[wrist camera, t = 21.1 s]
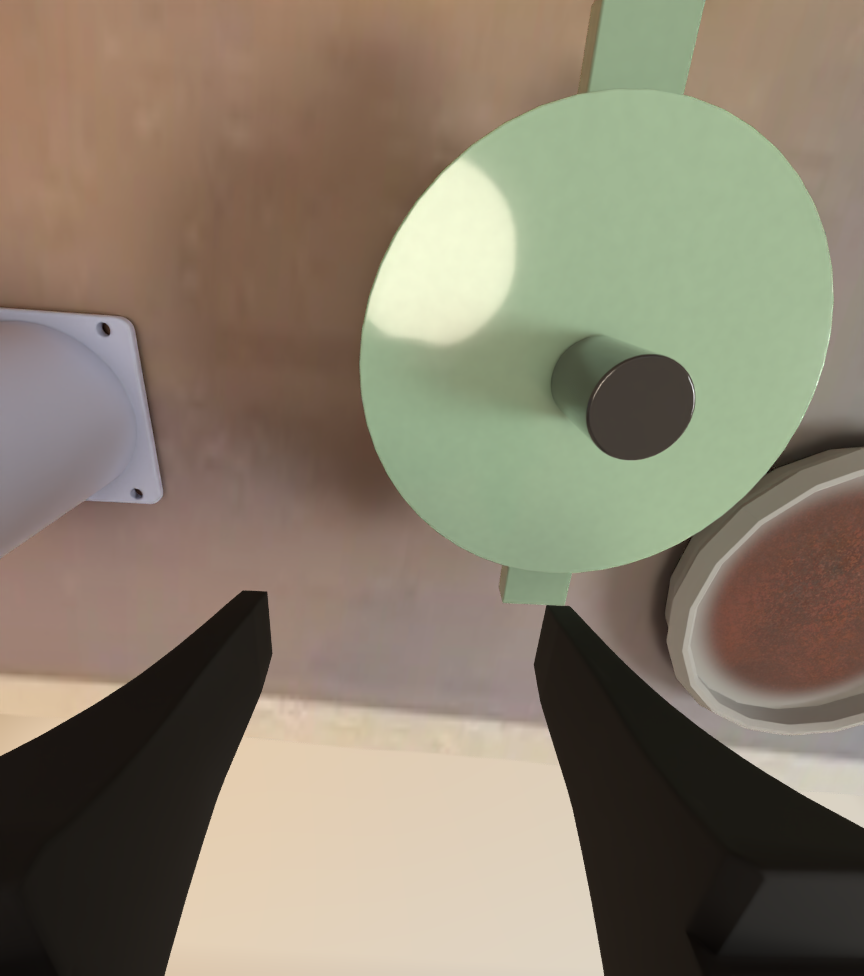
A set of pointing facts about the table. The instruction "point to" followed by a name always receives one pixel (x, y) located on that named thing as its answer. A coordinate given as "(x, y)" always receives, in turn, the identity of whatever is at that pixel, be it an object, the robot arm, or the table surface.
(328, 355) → the table surface
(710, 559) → the frying pan
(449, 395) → the lid
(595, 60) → the pot
